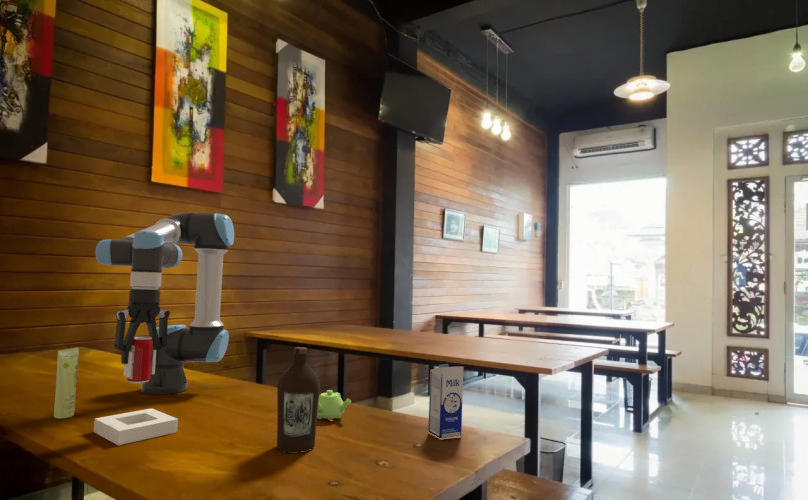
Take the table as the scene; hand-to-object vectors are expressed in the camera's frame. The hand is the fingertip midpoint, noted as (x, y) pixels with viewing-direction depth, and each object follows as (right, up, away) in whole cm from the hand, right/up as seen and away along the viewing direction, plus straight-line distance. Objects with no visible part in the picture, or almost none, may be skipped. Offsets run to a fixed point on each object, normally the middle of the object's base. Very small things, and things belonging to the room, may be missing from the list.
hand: (139, 374), depth 135 cm
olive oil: (+44, -17, -7) cm, 47 cm away
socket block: (-1, -15, -1) cm, 15 cm away
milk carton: (+82, -19, +6) cm, 85 cm away
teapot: (+48, -18, +19) cm, 54 cm away
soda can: (0, -2, 0) cm, 2 cm away
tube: (-28, -15, +11) cm, 33 cm away
